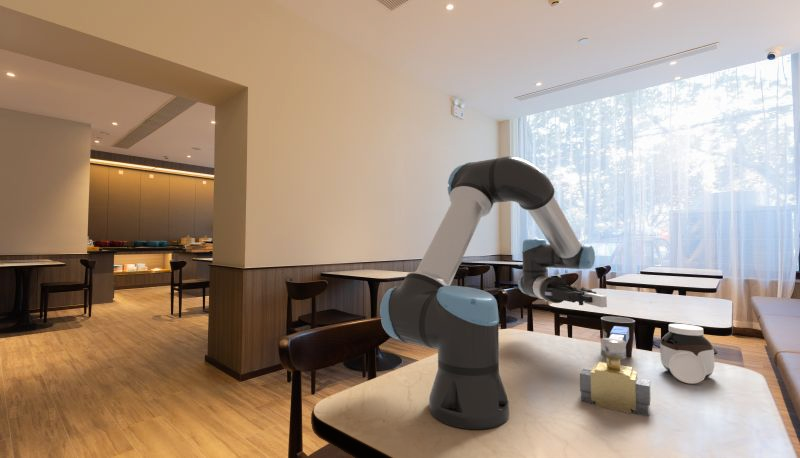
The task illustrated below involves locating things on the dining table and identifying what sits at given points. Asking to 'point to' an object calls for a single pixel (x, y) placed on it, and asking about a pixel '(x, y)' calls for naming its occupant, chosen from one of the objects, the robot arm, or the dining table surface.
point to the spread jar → (687, 353)
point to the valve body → (615, 387)
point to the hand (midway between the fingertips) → (603, 301)
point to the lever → (615, 343)
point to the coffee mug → (622, 322)
